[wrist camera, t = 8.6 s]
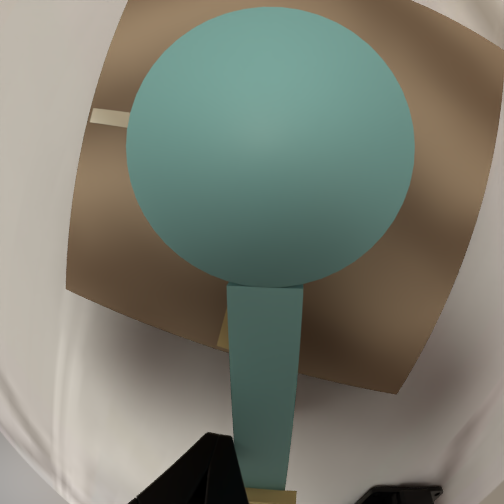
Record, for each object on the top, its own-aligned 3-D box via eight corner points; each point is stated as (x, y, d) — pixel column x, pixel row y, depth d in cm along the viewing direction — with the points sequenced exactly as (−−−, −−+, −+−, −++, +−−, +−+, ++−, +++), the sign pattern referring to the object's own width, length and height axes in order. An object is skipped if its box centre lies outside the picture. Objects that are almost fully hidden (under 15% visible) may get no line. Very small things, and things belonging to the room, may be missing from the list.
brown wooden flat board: (391, 379, 13) (397, 397, 12) (79, 281, 14) (63, 290, 13) (491, 57, 9) (507, 50, 8) (157, -29, 10) (146, -42, 9)
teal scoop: (192, 74, 10) (120, 17, 5) (364, 72, 9) (410, 4, 4) (209, 425, 14) (177, 507, 9) (335, 433, 13) (340, 522, 8)
